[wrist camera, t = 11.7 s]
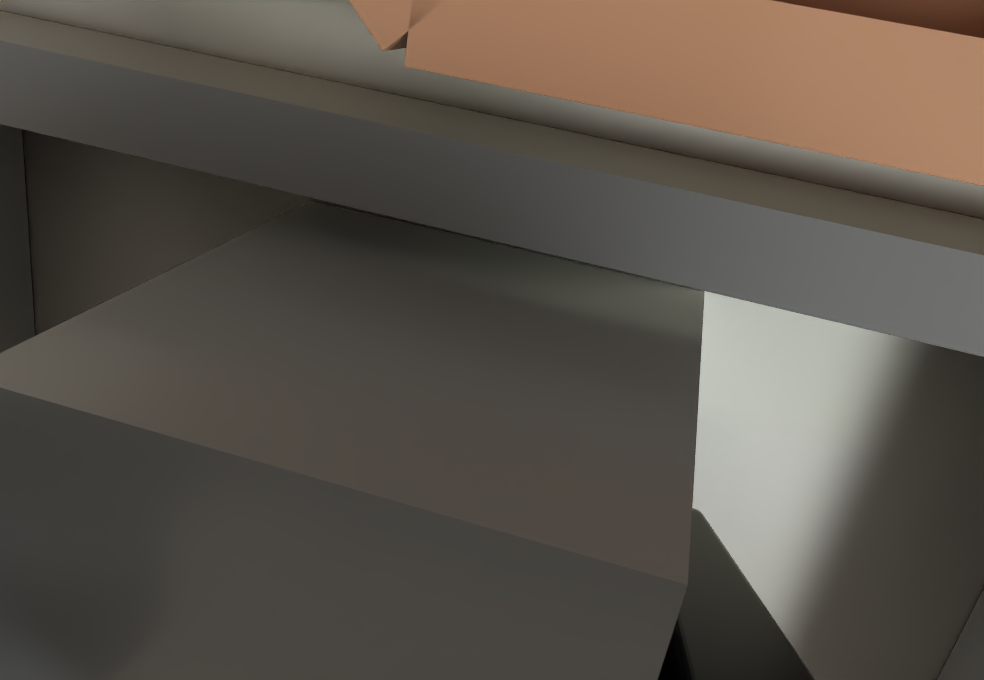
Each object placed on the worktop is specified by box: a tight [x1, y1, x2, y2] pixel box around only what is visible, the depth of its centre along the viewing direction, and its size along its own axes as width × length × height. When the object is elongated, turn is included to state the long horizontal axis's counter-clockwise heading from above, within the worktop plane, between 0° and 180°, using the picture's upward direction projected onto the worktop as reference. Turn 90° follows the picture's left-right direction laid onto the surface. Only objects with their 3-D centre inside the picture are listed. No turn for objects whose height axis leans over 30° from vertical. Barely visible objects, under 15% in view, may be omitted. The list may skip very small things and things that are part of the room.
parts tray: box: [0, 11, 984, 680], centre depth 11 cm, size 13×14×2 cm
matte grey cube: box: [0, 201, 704, 680], centre depth 8 cm, size 4×4×5 cm
